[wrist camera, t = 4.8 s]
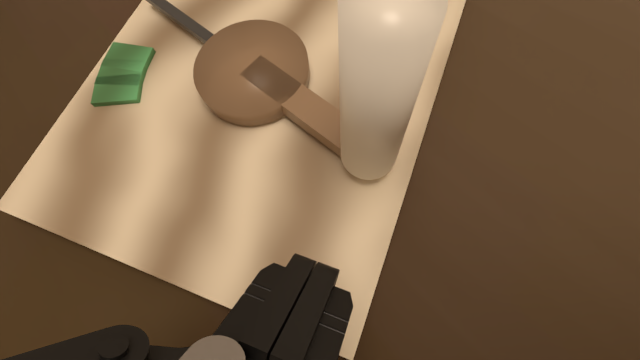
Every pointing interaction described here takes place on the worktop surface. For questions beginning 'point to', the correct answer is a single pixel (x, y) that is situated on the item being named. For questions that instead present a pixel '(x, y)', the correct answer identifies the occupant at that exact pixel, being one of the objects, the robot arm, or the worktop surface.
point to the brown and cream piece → (294, 74)
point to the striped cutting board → (216, 164)
